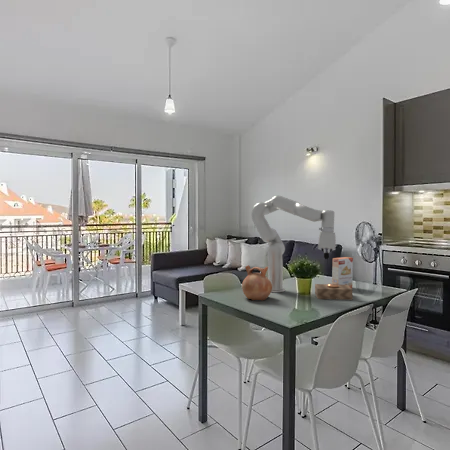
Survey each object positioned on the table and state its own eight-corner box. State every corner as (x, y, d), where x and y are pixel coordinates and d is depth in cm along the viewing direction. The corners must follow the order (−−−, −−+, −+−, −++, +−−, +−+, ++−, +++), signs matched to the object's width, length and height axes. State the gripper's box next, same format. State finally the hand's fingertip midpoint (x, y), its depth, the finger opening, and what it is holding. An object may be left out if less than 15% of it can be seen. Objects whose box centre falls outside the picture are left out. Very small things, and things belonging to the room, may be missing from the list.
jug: (277, 297, 216) (277, 264, 215) (263, 303, 201) (263, 268, 200) (251, 293, 226) (251, 262, 226) (236, 299, 211) (236, 266, 211)
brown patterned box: (317, 298, 212) (317, 288, 211) (315, 293, 225) (315, 284, 225) (352, 299, 209) (352, 289, 209) (347, 294, 223) (347, 284, 222)
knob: (328, 296, 214) (328, 285, 214) (326, 294, 221) (326, 283, 221) (339, 297, 213) (339, 285, 213) (337, 294, 220) (337, 283, 220)
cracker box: (338, 290, 233) (338, 259, 233) (331, 288, 239) (331, 258, 238) (353, 288, 240) (353, 257, 240) (346, 286, 246) (346, 256, 245)
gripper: (315, 229, 219) (314, 259, 220) (340, 230, 216) (339, 260, 217) (314, 229, 226) (313, 257, 227) (339, 230, 224) (337, 258, 225)
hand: (326, 259), depth 222 cm, fingers closed
